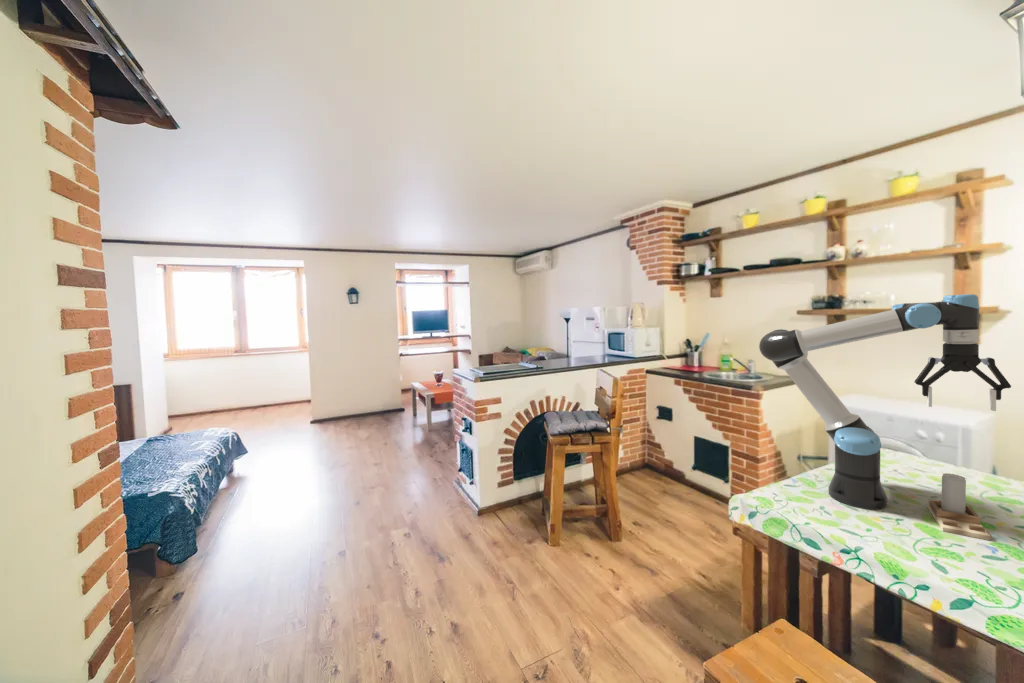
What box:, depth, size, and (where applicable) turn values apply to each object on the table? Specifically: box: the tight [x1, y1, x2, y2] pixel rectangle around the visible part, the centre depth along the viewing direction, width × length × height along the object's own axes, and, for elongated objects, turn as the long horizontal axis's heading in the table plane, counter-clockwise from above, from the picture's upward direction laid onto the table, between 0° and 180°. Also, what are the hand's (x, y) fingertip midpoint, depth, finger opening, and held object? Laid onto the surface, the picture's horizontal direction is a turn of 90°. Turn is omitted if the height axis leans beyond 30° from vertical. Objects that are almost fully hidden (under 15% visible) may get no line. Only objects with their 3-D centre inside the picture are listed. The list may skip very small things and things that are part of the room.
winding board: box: [927, 498, 992, 541], centre depth 115 cm, size 9×16×3 cm, turn 144°
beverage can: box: [941, 472, 967, 514], centre depth 118 cm, size 5×5×12 cm
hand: (959, 408), depth 124 cm, fingers open, 13 cm apart
